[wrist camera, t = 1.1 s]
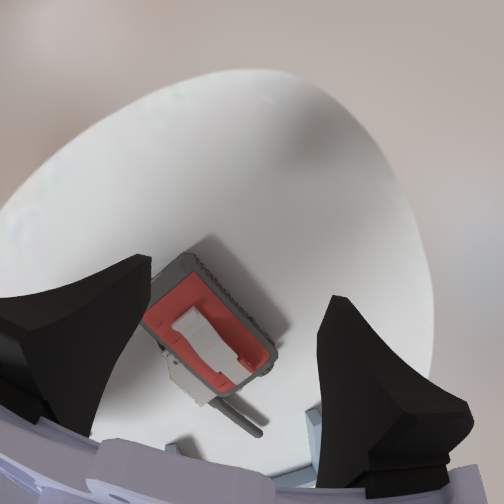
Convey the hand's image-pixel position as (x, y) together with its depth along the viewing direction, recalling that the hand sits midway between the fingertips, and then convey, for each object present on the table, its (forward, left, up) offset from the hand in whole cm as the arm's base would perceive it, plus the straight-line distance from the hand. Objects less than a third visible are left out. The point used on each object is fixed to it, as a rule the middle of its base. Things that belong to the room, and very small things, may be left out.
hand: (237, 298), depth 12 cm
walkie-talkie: (-2, -10, -13) cm, 17 cm away
